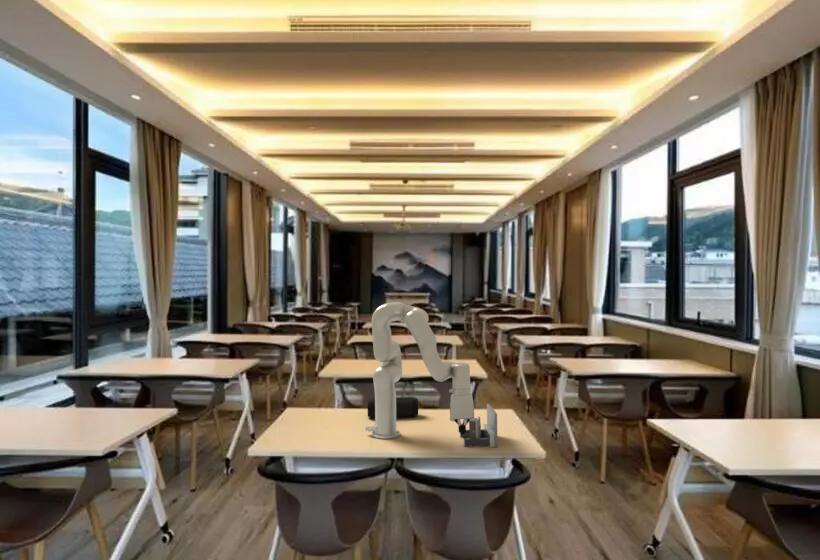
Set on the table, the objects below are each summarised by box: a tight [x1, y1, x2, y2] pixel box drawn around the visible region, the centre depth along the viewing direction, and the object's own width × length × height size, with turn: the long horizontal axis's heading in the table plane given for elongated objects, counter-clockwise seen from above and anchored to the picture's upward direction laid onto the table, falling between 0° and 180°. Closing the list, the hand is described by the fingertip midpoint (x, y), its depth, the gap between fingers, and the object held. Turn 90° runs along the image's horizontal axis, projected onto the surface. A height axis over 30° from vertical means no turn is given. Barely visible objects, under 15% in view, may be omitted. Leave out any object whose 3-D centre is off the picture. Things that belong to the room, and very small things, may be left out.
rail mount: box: [459, 403, 498, 448], centre depth 244 cm, size 14×19×14 cm
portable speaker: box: [367, 396, 419, 419], centre depth 288 cm, size 26×10×10 cm, turn 94°
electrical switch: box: [468, 415, 482, 439], centre depth 246 cm, size 9×5×9 cm, turn 165°
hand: (462, 433), depth 244 cm, fingers closed
